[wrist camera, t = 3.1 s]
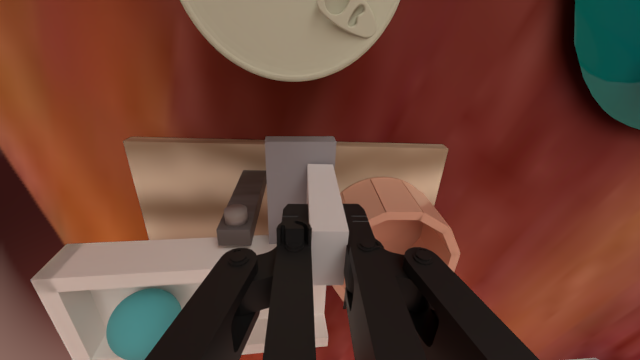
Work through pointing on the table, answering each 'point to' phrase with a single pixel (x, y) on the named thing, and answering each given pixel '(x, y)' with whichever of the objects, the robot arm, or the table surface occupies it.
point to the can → (291, 33)
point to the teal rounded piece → (611, 55)
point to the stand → (249, 181)
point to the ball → (141, 322)
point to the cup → (401, 219)
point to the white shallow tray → (171, 261)
